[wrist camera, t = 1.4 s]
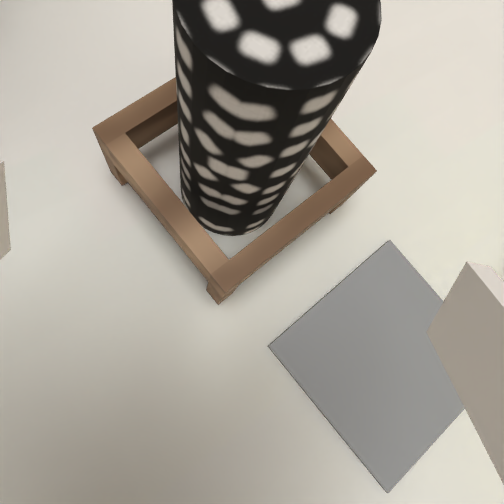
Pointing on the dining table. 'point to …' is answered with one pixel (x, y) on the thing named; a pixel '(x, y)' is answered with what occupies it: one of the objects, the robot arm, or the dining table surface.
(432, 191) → the dining table surface
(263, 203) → the spotted tube
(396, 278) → the mat
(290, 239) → the square frame stand
